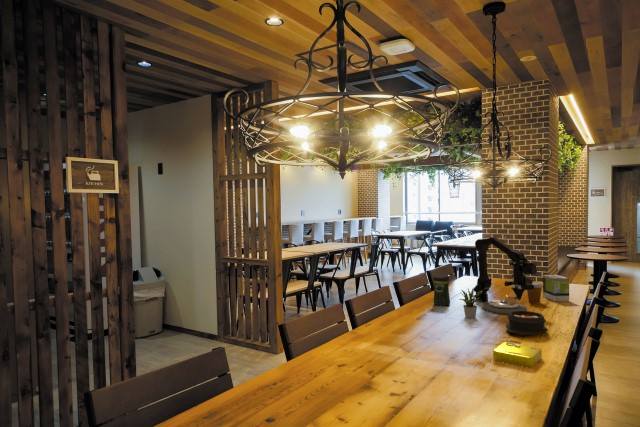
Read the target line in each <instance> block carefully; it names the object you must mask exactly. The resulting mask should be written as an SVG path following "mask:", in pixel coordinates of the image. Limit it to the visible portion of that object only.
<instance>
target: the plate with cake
mask: <svg viewBox="0 0 640 427" xmlns="http://www.w3.org/2000/svg"><path fill="white" fill-rule="evenodd" d="M519 302H520V300H518V298H517V296H516V294H515V295H509V296H508V300H505V299H496V300H495V299H494V300H489V305H490V306H492V307H495V308H503V309H514V308H518V307H519V304H520V303H519Z"/></svg>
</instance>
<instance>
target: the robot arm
mask: <svg viewBox="0 0 640 427" xmlns="http://www.w3.org/2000/svg"><path fill="white" fill-rule="evenodd" d="M491 245H492V246H494V247H496V248H497V249H498V250H500V251H501V252H503V254H506V256H507V257H508V259H510V260H511V262H509V264H508V265H509V266H512V274H511V277H512V280H505V281H504V287H510V286H511V288H510V289H511V290H512V291H513V293H514V294H515V295H516V296H517V298H518V300H519V301H520V300H522V297H523V294H524V292H525V291H527V290H532V289H534V285H533V284H532V282H534V280H533V279H531V278H527V275H532V276H533V275H537V274H538V267H537V264H536V262H530V261H529V260H528V259H527V258H526V256H525V253H524V252H522V251H520V250H518V249H516V248H512V247H511V246H509V245H508V244H506V243H505V242H503V241H501V240H500V239H498V237H496V236H493V237H492V236H491V237H488V238H478V239H476V240H475V242H474V246H475V250H476V251H477V253H478V271H479V272H478V274H479V276H478V277H477V280H476V285H475V286H474V287H472V289H473V290H474V291H473V292H474V293H475V295H476V294H477V293H478V292H480V291H482V292H483V293H479V294H480V295H479V294H478V295H477V296H476V298H475V299H477V298H478V300H479V302H480V303H487V302H488V301H489V294H488V292H489V291H490V288H491V287H492V286H493V283H492V277H491V278H490V277H489V276H488V274H489V273H488V258H487V257H488V255H487V253H488V251H489V248H490V246H491ZM486 301H487V302H486ZM479 302H478V303H479Z"/></svg>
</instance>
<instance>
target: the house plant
mask: <svg viewBox="0 0 640 427" xmlns="http://www.w3.org/2000/svg"><path fill="white" fill-rule="evenodd" d="M467 291H468V292H465V291H464V290H463V289H461V291H460V292H459V294H461V295H462V296H463V297H464V298H459V299H458V300H459V301H463V302H464V304H463V311H464V316H465V318H466V317H467V319H470V318H473V319H476V316H477V310H478V307H477V305H476V304H477V301H479V300H478V298H477V299H476V296H477V295H478V294H479V293H483V292H482V291H480V292H478V293H477V294H476V293H475V292H474V289H473V288H472V289H471V291H470V289H469V288H467ZM474 293H475V294H474ZM479 295H480V294H479Z"/></svg>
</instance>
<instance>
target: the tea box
mask: <svg viewBox="0 0 640 427" xmlns="http://www.w3.org/2000/svg"><path fill="white" fill-rule="evenodd" d="M542 297H543V298H546V299H547V300H551V301H553V302H569V301H570V278H569V277H567V276H566V277H565V276H562V275H559V274H543V275H542Z"/></svg>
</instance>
